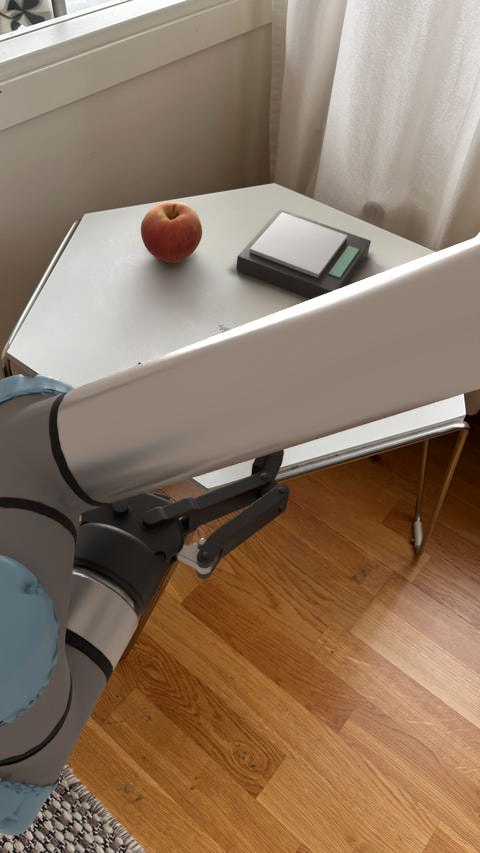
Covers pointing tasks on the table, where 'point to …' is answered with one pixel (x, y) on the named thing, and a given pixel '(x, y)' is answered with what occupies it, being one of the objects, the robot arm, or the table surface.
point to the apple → (171, 231)
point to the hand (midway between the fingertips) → (211, 396)
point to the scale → (303, 255)
